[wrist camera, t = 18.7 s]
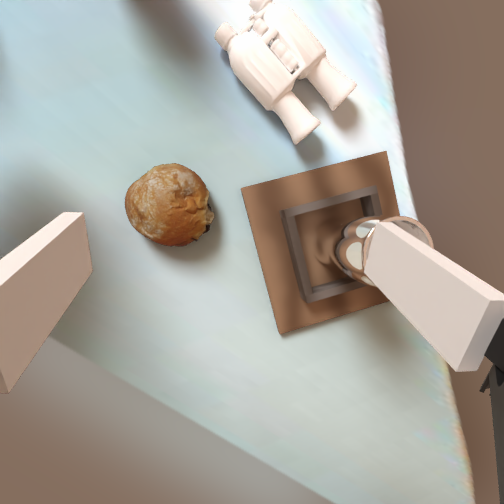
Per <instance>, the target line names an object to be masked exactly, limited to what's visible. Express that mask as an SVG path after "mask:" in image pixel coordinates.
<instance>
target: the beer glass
mask: <svg viewBox="0 0 504 504" xmlns="http://www.w3.org/2000/svg"><path fill="white" fill-rule="evenodd" d="M377 222H392V223H393V224H395V225H397V226H398V227H400V228H401V229H403V230H404V231H406V232H407V233H409V234H411V235H412V236H414V237H415V238H417V239H418V240H420V241H422V242H423V243H425V244H426V245H428V246H429V247H431V248H432V249H434V247H433V242H432V239H431V236H430V234H429V232H428V231H427V229H426V228H425V227H424V226H423V225H422V224H421V223H419V222H418V221H416V220H414V219H412V218H409V217H404V216H389V215H370V216H363V217H359V218H356V219H353V220H351V221H348V222H346V223H344V222H341V221H329V222H326V223H324V224H323V225H321V226H320V227H319V228H318V229H317V230H316V232H315V234H314V236H313V239H312V249H313V252H314V255H315V256H316V258H317V259H318V260H319V261H320V262H321V263H323V264H325V265H328V266H337V267H338V268H339V269H340V270H341V271H342V272H344V273H345V274H346V275H348V276H349V277H350V278H352V279H354V280H356V281H358V282H360V283H363V284H366V285H369V286H372V287H376V288H378V287H377V286H376V285H375V284H374V283H373V282H372V281H371V280H370V279H369V277H368V276H367V275H366V274H365V273H364V269H365V266H366V262H367V258H368V254H369V250H370V246H371V243H372V239H373V235H374V231H375V227H376V223H377Z"/></svg>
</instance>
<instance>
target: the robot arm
mask: <svg viewBox="0 0 504 504" xmlns="http://www.w3.org/2000/svg"><path fill="white" fill-rule="evenodd" d="M92 271H93V268H92V262H91V256H90V249H89V243H88V237H87V230H86V224H85V218H84V213H80V212H63V213H62V214H60V215H59V216H58V217H56V218H55V219H54V220H52V221H51V222H50V223H48V224H47V225H46V226H44V227H43V228H42V229H41V230H39V231H38V232H37V233H35V234H34V235H33V236H31V237H30V238H29V239H27V240H26V241H25V242H23V243H22V244H21V245H19V246H18V247H17V248H15V249H14V250H13V251H11V252H10V253H9V254H7V255H6V256H5V257H3V258H2V259H1V260H0V394H4V393H5V394H6V393H10V391H11V390H12V388H13V387H14V385H15V384H16V382H17V381H18V379H19V378H20V377H21V375H22V374H23V372H24V371H25V369H26V368H27V366H28V365H29V363H30V362H31V360H32V359H33V358H34V356H35V354H36V353H37V351H38V350H39V349H40V347H41V346H42V344H43V343H44V341H45V340H46V339H47V337H48V336H49V334H50V333H51V331H52V330H53V328H54V327H55V325H56V324H57V323H58V321H59V320H60V318H61V317H62V315H63V314H64V312H65V311H66V309H67V308H68V306H69V305H70V304H71V302H72V301H73V299H74V298H75V296H76V295H77V293H78V292H79V290H80V289H81V288H82V286H83V285H84V283H85V282H86V280H87V279H88V277H89V276H90V274H91V273H92ZM364 273H365V274H366V275H367V276H368V277H369V279H370V280H371V281H372V282H373V283H374V284H375V285H376V286H377V287H378V288H379V289H380V290H381V291H382V292H383V294H384V295H385V296H386V297H387V298H388V299H389V300H390V301H391V302H392V303H393V304H394V305H395V306H396V308H397V309H398V310H399V311H400V312H401V313H402V314H403V315H404V316H405V317H406V318H407V319H408V320H409V322H410V323H411V324H412V325H413V326H414V327H415V328H416V329H417V330H418V331H419V332H420V333H421V334H422V336H423V337H424V338H425V339H426V340H427V341H428V342H429V343H430V344H431V345H432V346H433V347H434V348H435V349H436V351H437V352H438V353H439V354H440V355H441V356H442V357H443V358H444V359H445V360H446V361H447V362H448V363H449V365H451V367H452V368H453V369H454V370H455V371H456V372H458V371H476V370H477V369H478V368H479V366H480V364H481V362H482V359H483V358H484V356H486V357H487V358H488V359H489V360H490V361H491V362H493V366H492V367H491V369H490V371H489V373H488V375H487V377H486V379H485V380H484V382H483V384H482V386H481V388H480V392H484V391H485V389H487V388H490V396H491V405H492V416H493V427H494V438H495V450H496V461H497V472H498V484H499V495H500V504H504V294H503V293H501V292H499V291H498V290H496V289H495V288H493V287H491V286H490V285H488V284H487V283H485V282H484V281H482V280H480V279H479V278H478V277H476V276H475V275H473V274H471V273H470V272H468V271H467V270H465V269H464V268H462V267H460V266H459V265H457V264H456V263H454V262H453V261H451V260H450V259H448V258H446V257H445V256H443V255H442V254H440V253H439V252H437V251H436V250H434V249H432V248H431V247H429V246H428V245H426V244H425V243H423V242H422V241H420V240H418V239H417V238H415V237H414V236H412V235H411V234H409V233H407V232H406V231H404V230H403V229H401V228H400V227H398V226H397V225H395V224H393V223H392V222H377V223H376V227H375V231H374V235H373V239H372V243H371V246H370V250H369V254H368V258H367V262H366V266H365V269H364Z"/></svg>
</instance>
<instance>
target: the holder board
mask: <svg viewBox="0 0 504 504" xmlns="http://www.w3.org/2000/svg"><path fill="white" fill-rule="evenodd" d="M241 192H242V196H243V199H244V203H245V207H246V211H247V215H248V218H249V222H250V226H251V230H252V233H253V237H254V241H255V245H256V249H257V252H258V256H259V260H260V264H261V268H262V271H263V275H264V279H265V283H266V286H267V290H268V294H269V298H270V302H271V305H272V309H273V313H274V317H275V320H276V324H277V328H278V332H279V333H280V334H282V333H286V332H289V331H292V330H296V329H299V328H302V327H305V326H309V325H312V324H315V323H319V322H322V321H325V320H328V319H332V318H335V317H338V316H342V315H345V314H348V313H351V312H355V311H358V310H361V309H365V308H368V307H371V306H374V305H378V304H381V303H384V302H388V301H390V300H389V299H388V298H387V297H386V296H385V295H384V294H383V292H382V291H381V290H380V289H379V288H376V287H372V286H369V285H366V284H363V283H360V282H358V281H356V280H354V279H352V278H350V277H349V276H348V275H346V274H345V273H344V272H342V271H341V270H340V269H339V268H338V267H337V266H328V265H325V264H323V263H321V262H320V261H319V260H318V259H317V258H316V256H315V255H314V252H313V249H312V239H313V236H314V234H315V232H316V230H317V229H318V228H319V227H320V226H321V225H323V224H324V223H326V222H329V221H341V222H344V223H346V222H348V221H351V220H353V219H356V218H359V217H363V216H370V215H389V216H400V214H399V210H398V205H397V200H396V195H395V190H394V185H393V181H392V176H391V171H390V166H389V161H388V156H387V151H383V152H379V153H376V154H372V155H368V156H364V157H360V158H356V159H352V160H348V161H344V162H341V163H337V164H333V165H329V166H325V167H321V168H317V169H313V170H310V171H306V172H302V173H298V174H294V175H290V176H286V177H282V178H279V179H275V180H271V181H267V182H263V183H259V184H255V185H251V186H248V187H244V188H241Z"/></svg>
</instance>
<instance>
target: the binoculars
mask: <svg viewBox="0 0 504 504" xmlns="http://www.w3.org/2000/svg"><path fill="white" fill-rule="evenodd" d="M249 6H250V7H251V8H252V10H253V11H254V12H255V13H256V15H255V16H254V14H253V15H251V17H250V19H249V20H250V21H249V22H248V23H247V24H246V25H245V26H244V27H243V29H242V30H241V31H240V32H239V34H237V33H236V31H234V29H233V28H232V27H231V26H230V25H229V24H228V23H227V22H225V23H223V24H222V25H221V26H220V27H219V28H218V30H217V31H216V33H215V37H214V38H215V40H216V41H217V42H218V43H219V44H220V45H221V47H222V48H223V49H224V50H225V51H227V53H228V54H229V60H230V65H231V68H232V70H233V72H234V74H235V75H236V76H237V77H238V78H239V79H240V81H241V82H242V83H243V84H244V85H245V86H246V87H247V88H248V90H249V91H250V92H251V93H252V94H253V95H254V96H255V97H256V99H257V100H258V101H259V102H260V103H261V104H262V105H263V106H264V108H265V109H266V110H267V111H269V110H271V111H272V110H273V111H274V112H275V113H276V114H277V115H278V116H279V117H280V118H281V120H282V122H283V124H284V125H285V127H286V129H287V130H288V132H289V133H290V135H291V138H292V141H293V143H294V144H295V145H296V144H298V143H299V142H300V141H302V140H303V139H304V138H305V137H306V136H308V135H309V134H310V133H311V132H312V131H313V130H314V129H316V128H317V127H318V126H319V125H320V124H321V122H320V121H319V120H318V119H317V118H316V117H314V116H313V115H312V114H311V113H310V112H309V111H308V110H307V109H306V107H305V106H304V105H303V104H302V103H301V102H300V100H299V99H298V98H297V97H296V96H295V95H294V93H293V92H292V91H291V90H292V89H293V87H294V83H295V80H296V79H297V78H298V79H299V80H301V79H302V78H307V79H308V80H309V81H310V82H311V84H312V85H313V86H314V87H315V88H316V89H317V91H318V92H319V93H320V94H321V95H322V97H323V98H324V99H325V100H326V101H327V103H328V105H329V107H330V109H331V110H332V111H334V110H335V109H336V108H337V107H338V106H339V105H340V104H341V103H342V102H343V101H344V100H345V99H346V98H347V96H348V95H349V94H350V93H351V92H352V91H353V90H354V88H355V87H356V86H357V84H356V83H355V82H354V81H353V80H350V79H348V78H347V77H346V76H344V75H343V74H342V73H341V72H340V71H338V70H337V69H336V68H335V67H333V66H332V65H331V64H330V62H329V61H328V59H327V58H326V54H325V53H326V50H325V49H324V47H323V46H322V45H321V44H320V43H319V41H318V40H317V39H316V38H315V36H314V35H313V34H312V33H311V32H310V30H309V29H308V28H307V27H306V26H305V24H304V23H303V22H302V21H301V19H300V18H299V17H298V16H297V15H296V13H295V12H294V11H293V10H292V9H290V8H288V7H287V6H284V5H279V4H274V3H273V2H272V0H250V3H249ZM252 28H253V30H254V31H255V32H256V33H257V34H258V35H259V37H260V38H259V37H257V36H256V35H254V34H252V33H250V32H249V31H250V30H251V29H252ZM268 45H270V46H271V47H270V48H269V47H268ZM291 72H293V74H292V73H291Z"/></svg>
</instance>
